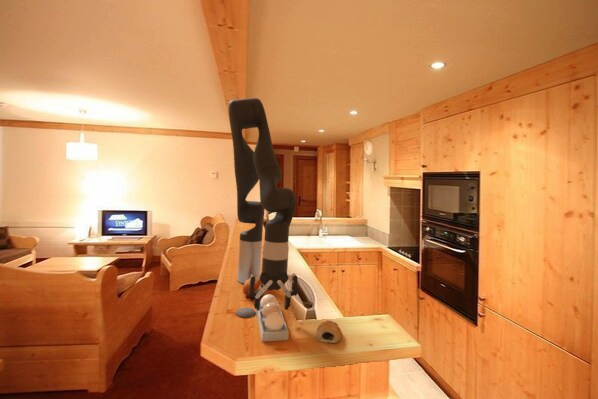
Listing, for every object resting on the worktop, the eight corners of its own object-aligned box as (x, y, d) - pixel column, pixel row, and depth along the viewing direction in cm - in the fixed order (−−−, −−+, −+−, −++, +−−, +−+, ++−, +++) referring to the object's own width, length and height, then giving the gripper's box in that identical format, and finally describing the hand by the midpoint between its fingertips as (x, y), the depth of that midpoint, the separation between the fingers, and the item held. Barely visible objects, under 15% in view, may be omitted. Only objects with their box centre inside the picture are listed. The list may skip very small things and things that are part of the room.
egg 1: (259, 307, 94) (260, 291, 94) (275, 307, 95) (276, 291, 95) (260, 314, 89) (261, 298, 89) (277, 314, 90) (278, 298, 90)
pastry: (319, 325, 87) (320, 313, 87) (342, 329, 86) (343, 317, 85) (315, 341, 78) (316, 328, 77) (340, 346, 76) (341, 332, 76)
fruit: (263, 298, 100) (254, 277, 101) (245, 306, 102) (236, 285, 103) (273, 290, 107) (264, 271, 108) (256, 298, 110) (247, 278, 111)
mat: (235, 309, 93) (235, 308, 93) (254, 308, 95) (254, 307, 95) (236, 317, 88) (236, 316, 87) (255, 317, 89) (255, 315, 89)
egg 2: (263, 326, 82) (264, 309, 81) (281, 326, 83) (282, 308, 83) (265, 336, 77) (266, 317, 76) (284, 335, 78) (285, 316, 78)
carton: (256, 309, 94) (256, 302, 94) (277, 308, 96) (277, 301, 96) (261, 341, 76) (262, 332, 76) (288, 339, 77) (288, 331, 77)
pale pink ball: (262, 325, 83) (263, 307, 82) (260, 316, 88) (262, 299, 87) (280, 324, 84) (281, 307, 84) (277, 316, 89) (279, 299, 89)
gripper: (251, 259, 80) (248, 316, 81) (301, 259, 83) (298, 313, 84) (250, 252, 87) (247, 304, 88) (296, 252, 90) (292, 302, 91)
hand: (272, 309), depth 86 cm, fingers open, 8 cm apart
